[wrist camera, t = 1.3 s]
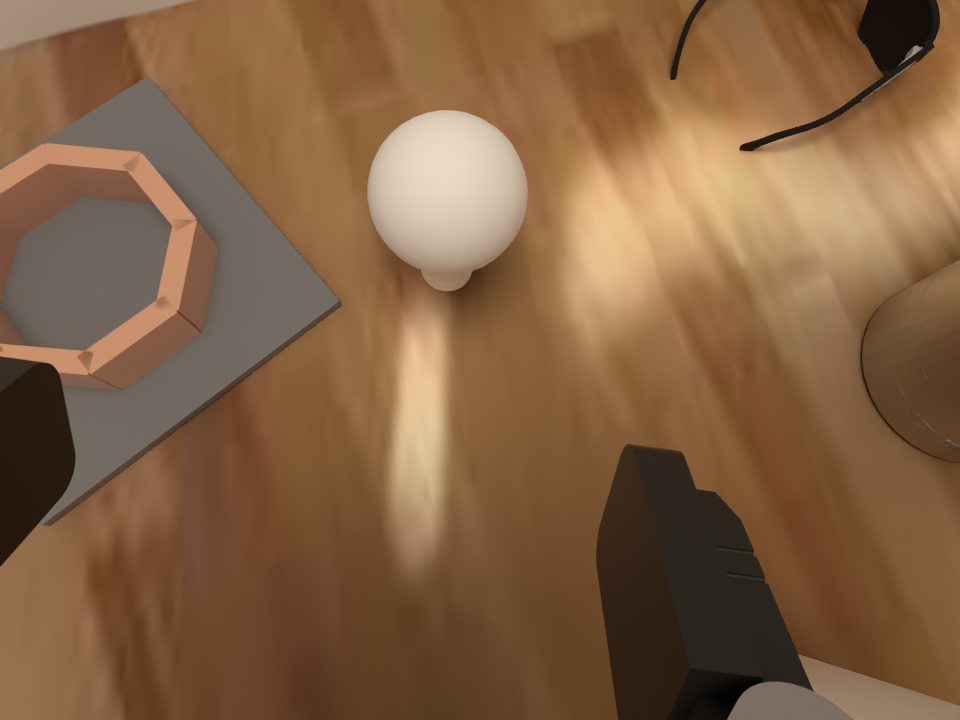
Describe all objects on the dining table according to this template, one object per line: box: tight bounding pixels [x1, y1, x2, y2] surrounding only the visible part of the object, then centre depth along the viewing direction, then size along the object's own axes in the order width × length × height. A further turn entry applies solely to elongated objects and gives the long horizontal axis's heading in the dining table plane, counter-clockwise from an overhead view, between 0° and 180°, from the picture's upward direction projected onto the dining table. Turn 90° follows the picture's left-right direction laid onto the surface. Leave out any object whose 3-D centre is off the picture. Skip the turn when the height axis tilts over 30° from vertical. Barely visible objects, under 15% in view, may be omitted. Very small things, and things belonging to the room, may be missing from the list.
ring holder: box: [0, 76, 341, 526], centre depth 31 cm, size 16×16×4 cm
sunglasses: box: [671, 0, 940, 151], centre depth 36 cm, size 10×12×5 cm
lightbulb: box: [367, 110, 528, 291], centre depth 28 cm, size 6×6×11 cm
